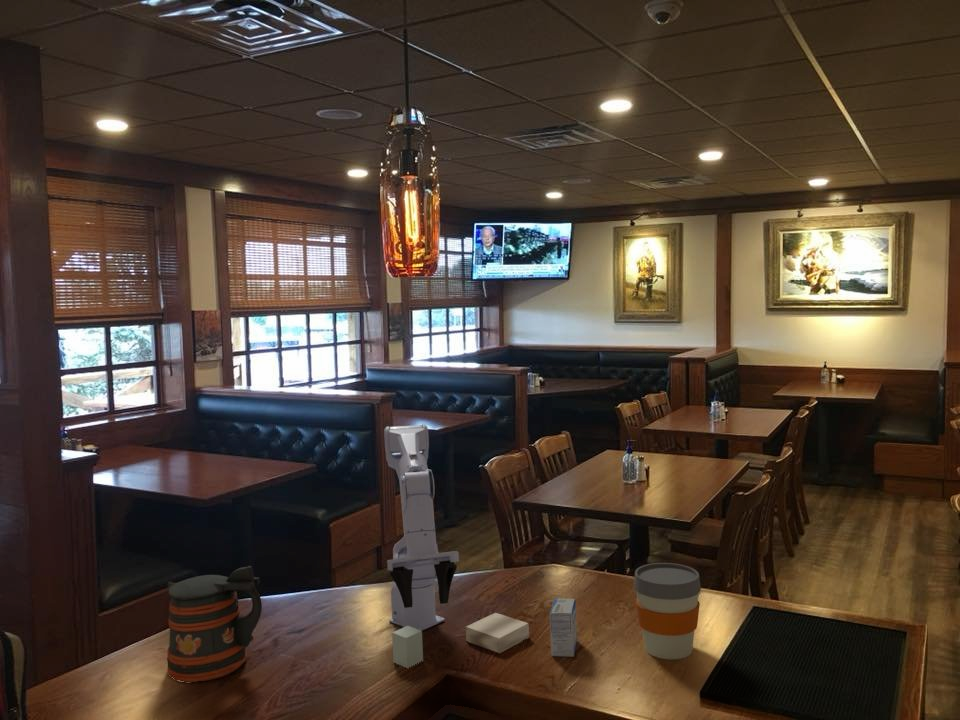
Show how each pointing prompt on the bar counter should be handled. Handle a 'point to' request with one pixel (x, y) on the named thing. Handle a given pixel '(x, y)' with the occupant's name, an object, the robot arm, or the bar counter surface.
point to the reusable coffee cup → (667, 608)
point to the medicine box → (563, 627)
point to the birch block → (497, 632)
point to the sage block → (407, 646)
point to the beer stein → (210, 625)
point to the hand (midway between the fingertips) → (426, 605)
